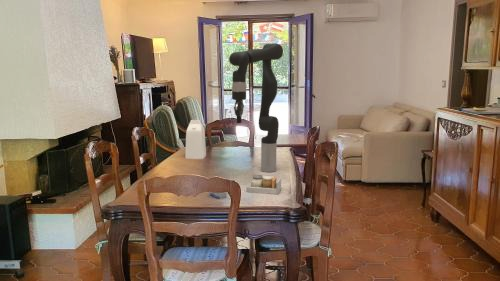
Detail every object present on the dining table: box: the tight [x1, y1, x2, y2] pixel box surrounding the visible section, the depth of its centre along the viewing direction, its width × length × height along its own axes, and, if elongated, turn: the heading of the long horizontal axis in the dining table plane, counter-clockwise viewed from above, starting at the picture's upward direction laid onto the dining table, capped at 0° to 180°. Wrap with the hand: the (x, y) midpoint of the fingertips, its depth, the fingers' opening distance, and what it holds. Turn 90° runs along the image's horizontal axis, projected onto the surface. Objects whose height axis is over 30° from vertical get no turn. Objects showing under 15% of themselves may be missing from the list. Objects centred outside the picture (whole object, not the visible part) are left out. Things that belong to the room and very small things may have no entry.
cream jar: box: [251, 174, 263, 188], centre depth 203 cm, size 5×5×7 cm
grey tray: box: [246, 176, 282, 195], centre depth 202 cm, size 11×16×6 cm
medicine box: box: [209, 192, 227, 200], centre depth 191 cm, size 8×4×9 cm, turn 45°
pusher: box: [272, 176, 278, 189], centre depth 201 cm, size 8×1×6 cm, turn 167°
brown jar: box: [262, 175, 274, 188], centre depth 201 cm, size 5×5×7 cm
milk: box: [184, 119, 207, 160], centre depth 276 cm, size 12×12×26 cm
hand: (239, 123), depth 214 cm, fingers closed
